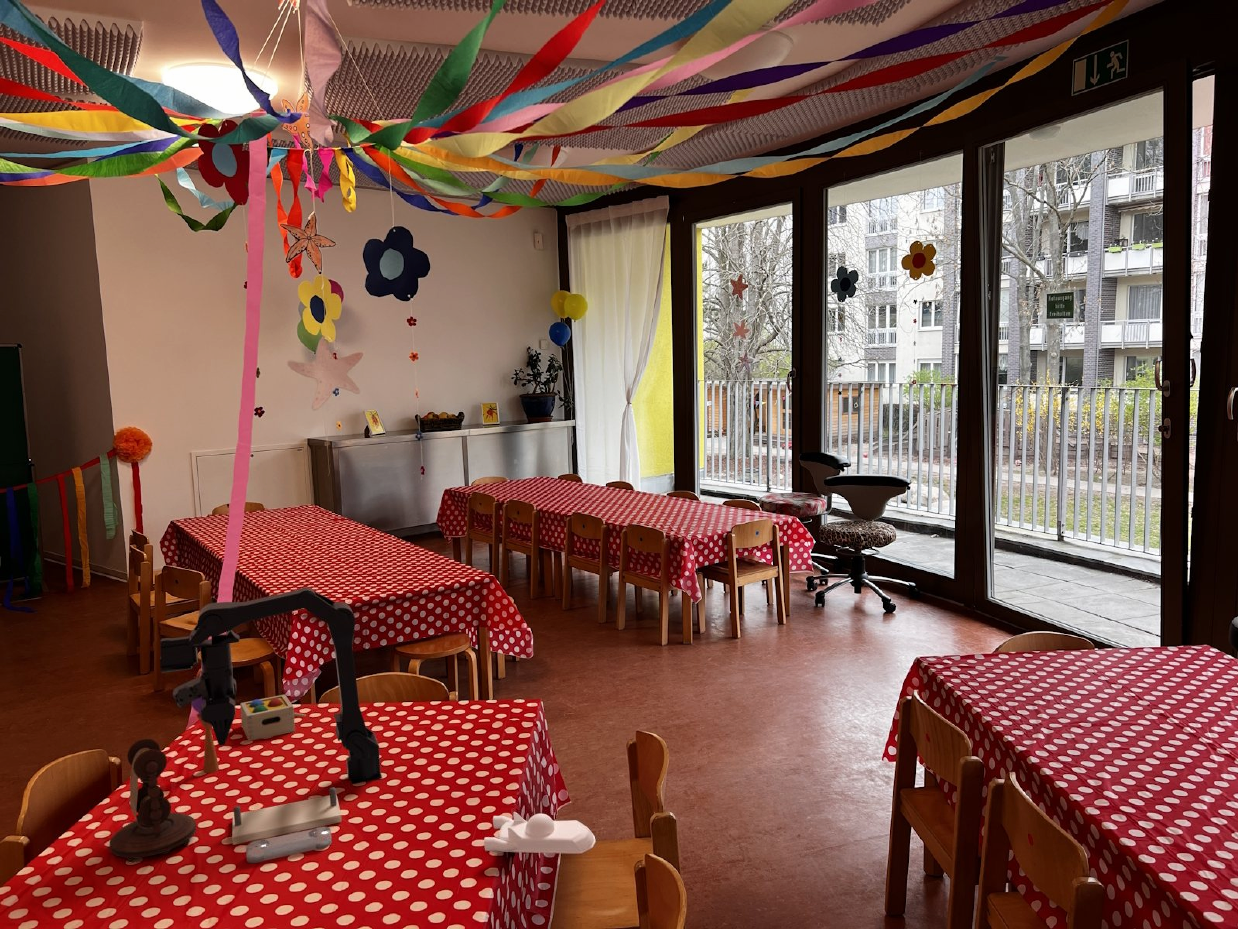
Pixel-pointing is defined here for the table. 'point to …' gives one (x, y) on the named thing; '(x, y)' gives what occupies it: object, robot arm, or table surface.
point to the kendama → (207, 740)
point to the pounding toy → (268, 717)
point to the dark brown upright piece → (150, 809)
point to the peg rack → (285, 818)
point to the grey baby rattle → (288, 844)
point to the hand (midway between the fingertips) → (222, 737)
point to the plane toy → (539, 835)
